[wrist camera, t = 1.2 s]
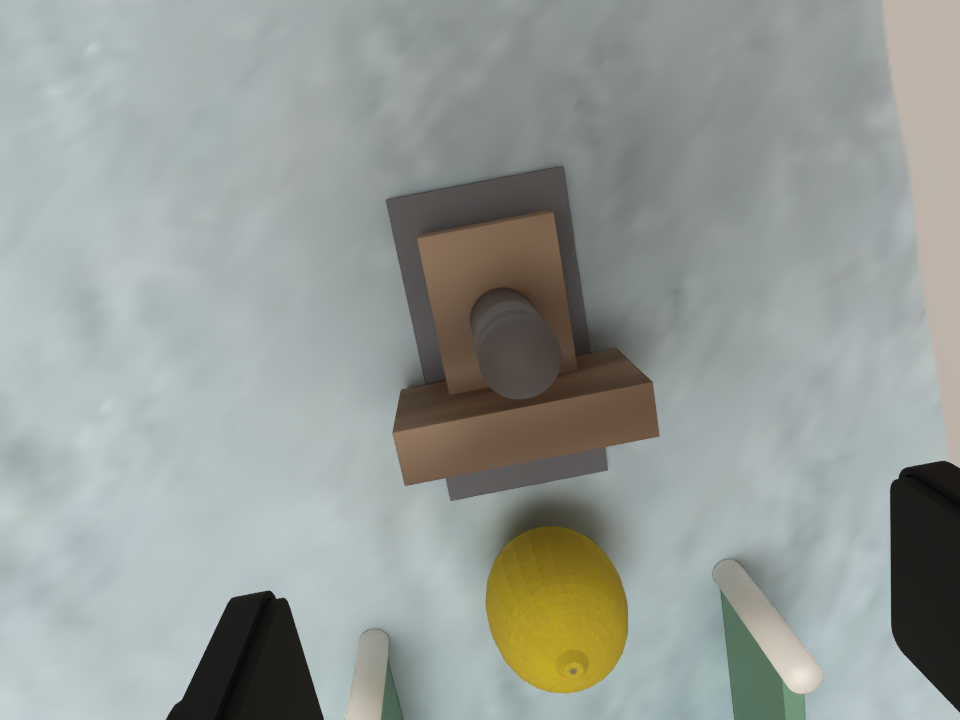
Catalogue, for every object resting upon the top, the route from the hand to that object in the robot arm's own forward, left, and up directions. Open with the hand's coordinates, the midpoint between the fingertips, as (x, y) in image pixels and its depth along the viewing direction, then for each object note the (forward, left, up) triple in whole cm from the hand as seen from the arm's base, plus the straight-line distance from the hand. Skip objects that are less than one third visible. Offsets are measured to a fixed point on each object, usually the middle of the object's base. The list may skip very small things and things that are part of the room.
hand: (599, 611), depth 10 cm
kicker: (-1, 0, -18) cm, 18 cm away
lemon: (+10, 0, -19) cm, 21 cm away
